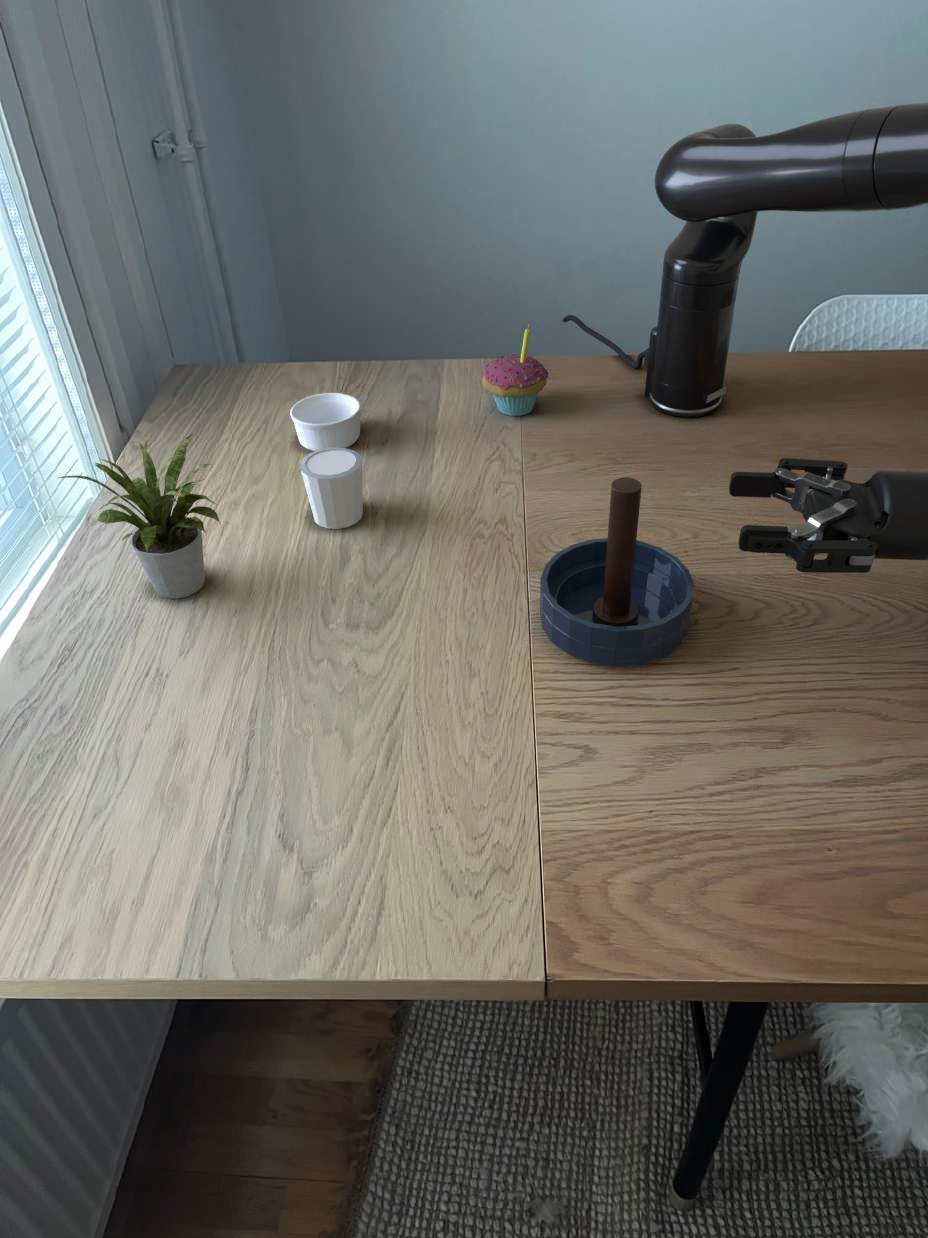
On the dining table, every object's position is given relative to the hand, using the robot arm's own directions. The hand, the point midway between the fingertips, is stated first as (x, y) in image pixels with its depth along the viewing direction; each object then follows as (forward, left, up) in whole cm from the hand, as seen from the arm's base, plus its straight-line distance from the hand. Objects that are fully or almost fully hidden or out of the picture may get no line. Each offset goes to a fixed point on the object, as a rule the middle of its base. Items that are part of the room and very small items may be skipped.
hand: (734, 510), depth 83 cm
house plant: (-41, -38, -14) cm, 57 cm away
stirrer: (-7, -7, -13) cm, 16 cm away
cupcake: (-47, +15, -14) cm, 51 cm away
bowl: (-7, -7, -13) cm, 16 cm away
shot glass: (-41, -17, -14) cm, 46 cm away
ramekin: (-57, -8, -14) cm, 59 cm away
